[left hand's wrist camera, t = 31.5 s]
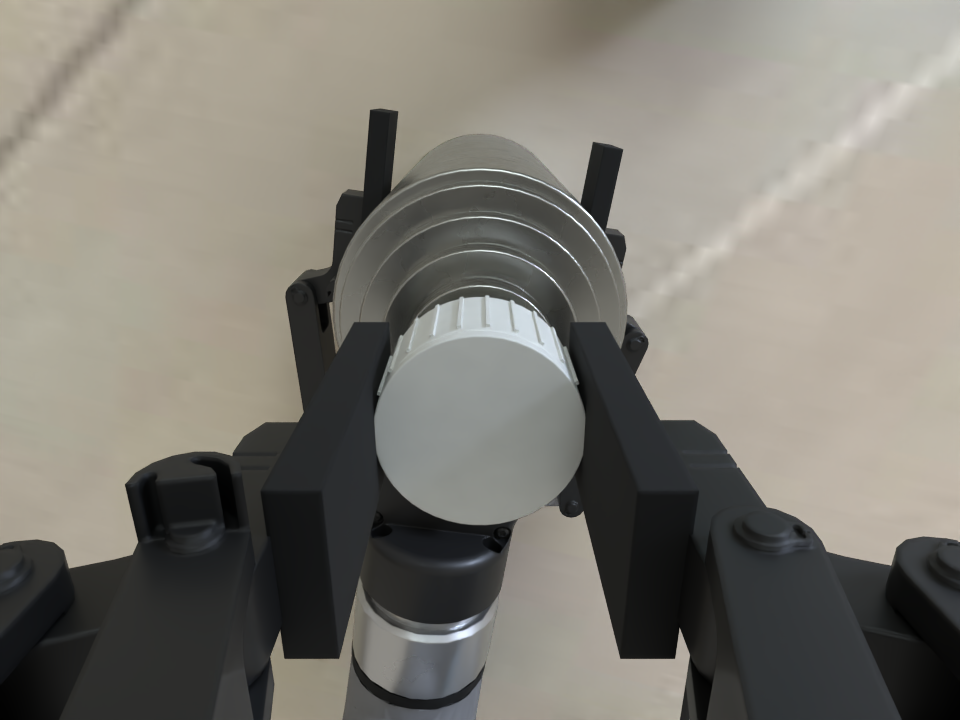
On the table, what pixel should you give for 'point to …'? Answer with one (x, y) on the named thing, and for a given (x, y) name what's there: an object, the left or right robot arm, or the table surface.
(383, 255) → the bottle
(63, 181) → the table surface
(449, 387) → the cap
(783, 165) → the table surface
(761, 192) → the table surface
